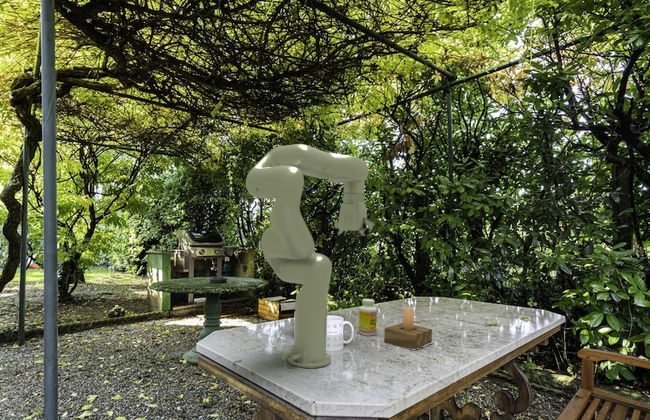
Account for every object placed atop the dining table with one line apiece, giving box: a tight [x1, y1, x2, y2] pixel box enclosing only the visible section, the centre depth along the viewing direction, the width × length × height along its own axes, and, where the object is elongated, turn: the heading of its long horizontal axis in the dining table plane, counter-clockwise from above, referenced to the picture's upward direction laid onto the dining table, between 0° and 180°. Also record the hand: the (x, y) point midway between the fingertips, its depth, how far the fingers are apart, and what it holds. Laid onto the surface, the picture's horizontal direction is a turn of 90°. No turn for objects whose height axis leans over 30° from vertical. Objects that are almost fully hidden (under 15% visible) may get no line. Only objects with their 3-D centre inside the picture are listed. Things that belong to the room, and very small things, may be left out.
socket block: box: [383, 322, 433, 350], centre depth 129 cm, size 12×12×5 cm
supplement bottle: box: [358, 298, 378, 337], centre depth 140 cm, size 7×7×13 cm
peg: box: [402, 307, 415, 331], centre depth 129 cm, size 4×4×12 cm
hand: (352, 246), depth 131 cm, fingers open, 9 cm apart
